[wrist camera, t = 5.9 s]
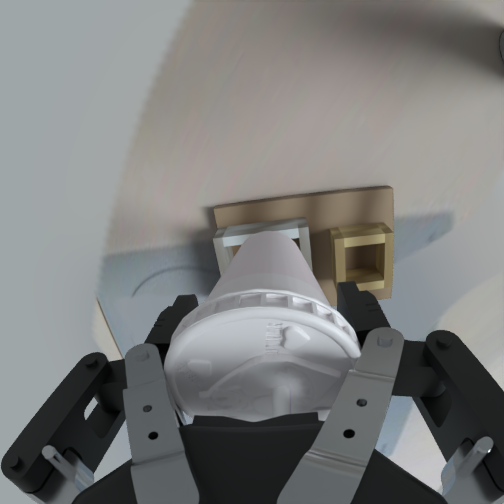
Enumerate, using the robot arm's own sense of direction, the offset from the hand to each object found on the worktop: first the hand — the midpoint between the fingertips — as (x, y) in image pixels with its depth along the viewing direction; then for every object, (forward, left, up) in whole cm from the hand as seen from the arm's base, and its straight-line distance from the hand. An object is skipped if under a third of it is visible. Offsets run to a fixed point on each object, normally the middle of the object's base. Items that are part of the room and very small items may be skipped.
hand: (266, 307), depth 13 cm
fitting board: (-3, +7, -22) cm, 24 cm away
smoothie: (0, 0, -5) cm, 5 cm away
